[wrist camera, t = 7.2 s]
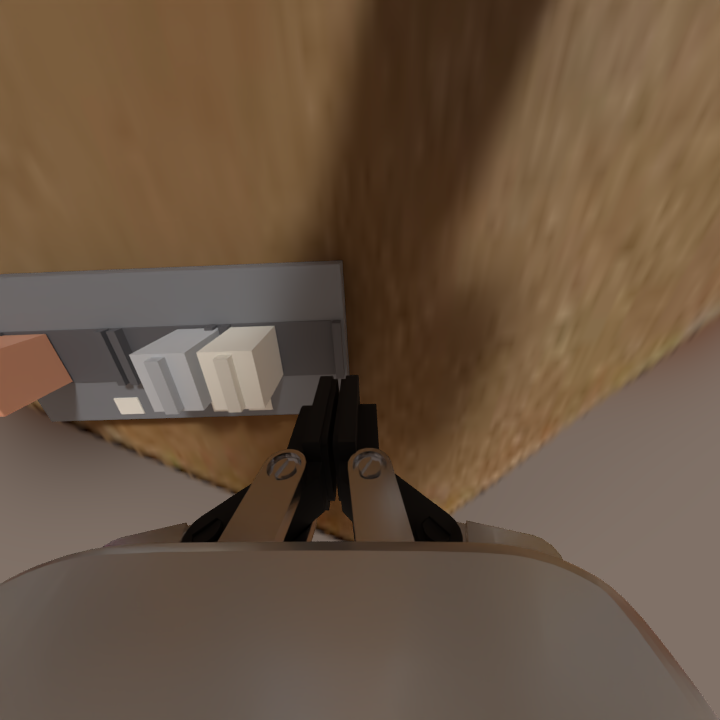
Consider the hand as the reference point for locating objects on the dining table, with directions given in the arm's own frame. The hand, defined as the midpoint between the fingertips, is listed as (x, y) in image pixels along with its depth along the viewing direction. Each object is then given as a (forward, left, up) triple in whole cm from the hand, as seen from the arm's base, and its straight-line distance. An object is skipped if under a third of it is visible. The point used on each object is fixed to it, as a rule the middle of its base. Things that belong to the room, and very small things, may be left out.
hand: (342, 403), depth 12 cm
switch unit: (+13, +1, -11) cm, 17 cm away
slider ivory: (+7, +1, -9) cm, 11 cm away
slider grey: (+11, +1, -8) cm, 14 cm away
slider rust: (+24, +1, -9) cm, 25 cm away
